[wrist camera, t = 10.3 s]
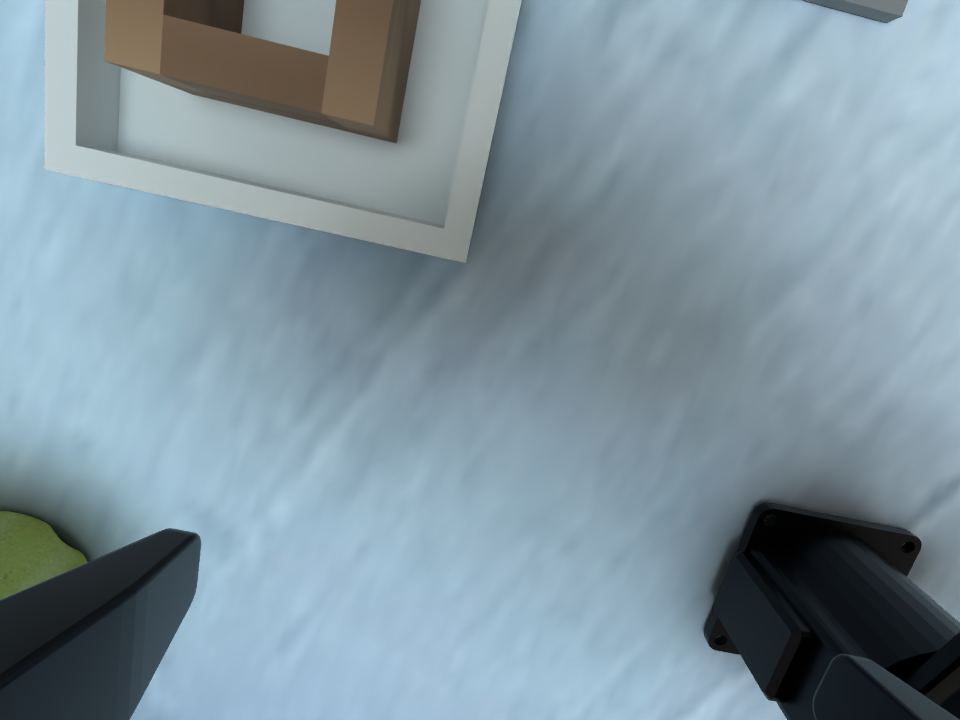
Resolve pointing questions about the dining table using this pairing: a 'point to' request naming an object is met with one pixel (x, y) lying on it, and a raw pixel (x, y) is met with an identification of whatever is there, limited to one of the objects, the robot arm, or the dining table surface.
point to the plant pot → (31, 553)
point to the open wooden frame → (273, 60)
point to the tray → (291, 128)
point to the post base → (868, 8)
